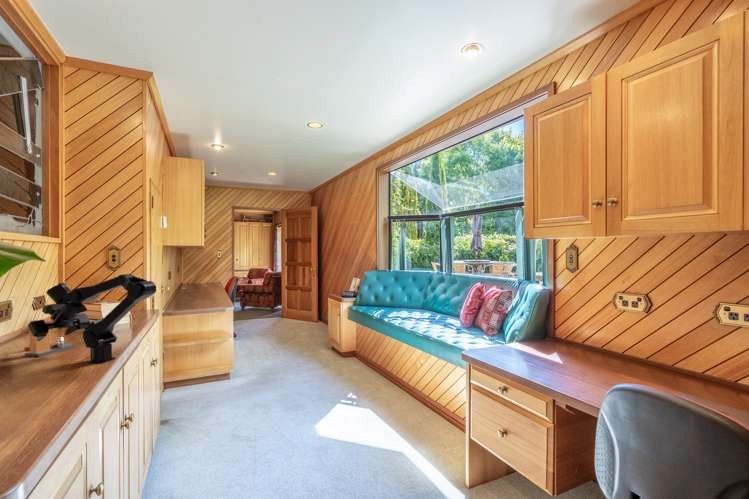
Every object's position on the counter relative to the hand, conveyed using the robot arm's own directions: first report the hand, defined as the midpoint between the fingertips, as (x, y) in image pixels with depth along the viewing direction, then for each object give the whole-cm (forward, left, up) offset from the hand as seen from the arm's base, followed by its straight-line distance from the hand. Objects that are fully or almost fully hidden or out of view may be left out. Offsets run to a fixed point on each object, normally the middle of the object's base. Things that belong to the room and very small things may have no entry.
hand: (52, 337), depth 142 cm
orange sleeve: (+8, -1, -6) cm, 10 cm away
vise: (+8, -5, -8) cm, 12 cm away
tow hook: (+19, -10, -8) cm, 23 cm away
